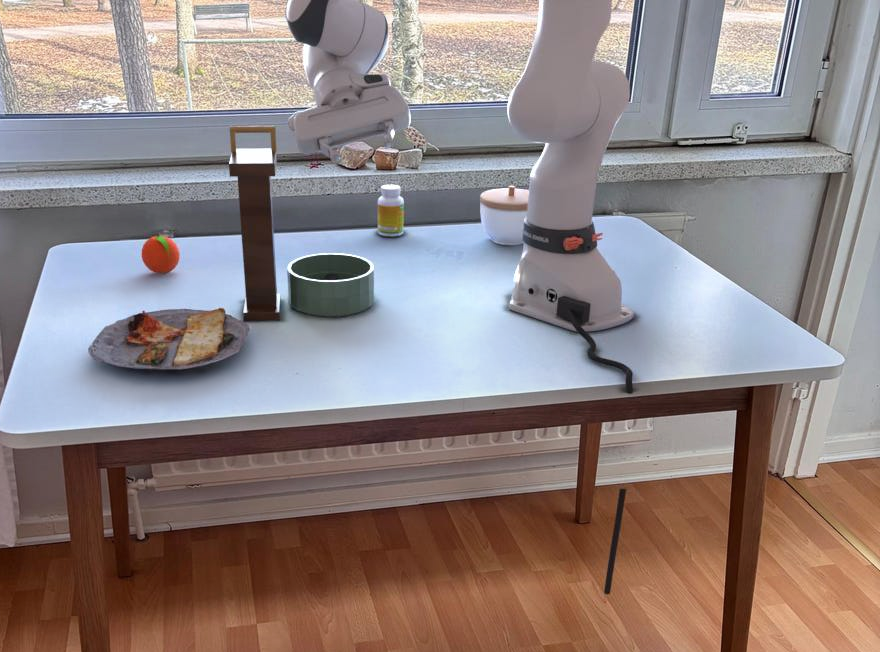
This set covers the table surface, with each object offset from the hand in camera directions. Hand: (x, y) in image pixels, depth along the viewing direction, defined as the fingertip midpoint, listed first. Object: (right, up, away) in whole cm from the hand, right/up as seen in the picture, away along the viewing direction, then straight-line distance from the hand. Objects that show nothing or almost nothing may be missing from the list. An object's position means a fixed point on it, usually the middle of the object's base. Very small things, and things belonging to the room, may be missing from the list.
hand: (362, 151), depth 169 cm
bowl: (-6, -24, +6) cm, 26 cm away
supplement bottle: (+4, -4, +41) cm, 42 cm away
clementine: (-38, -17, +18) cm, 45 cm away
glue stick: (-5, -24, +6) cm, 25 cm away
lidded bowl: (+29, -6, +38) cm, 48 cm away
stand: (-17, -27, +2) cm, 32 cm away
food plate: (-29, -35, -12) cm, 48 cm away
